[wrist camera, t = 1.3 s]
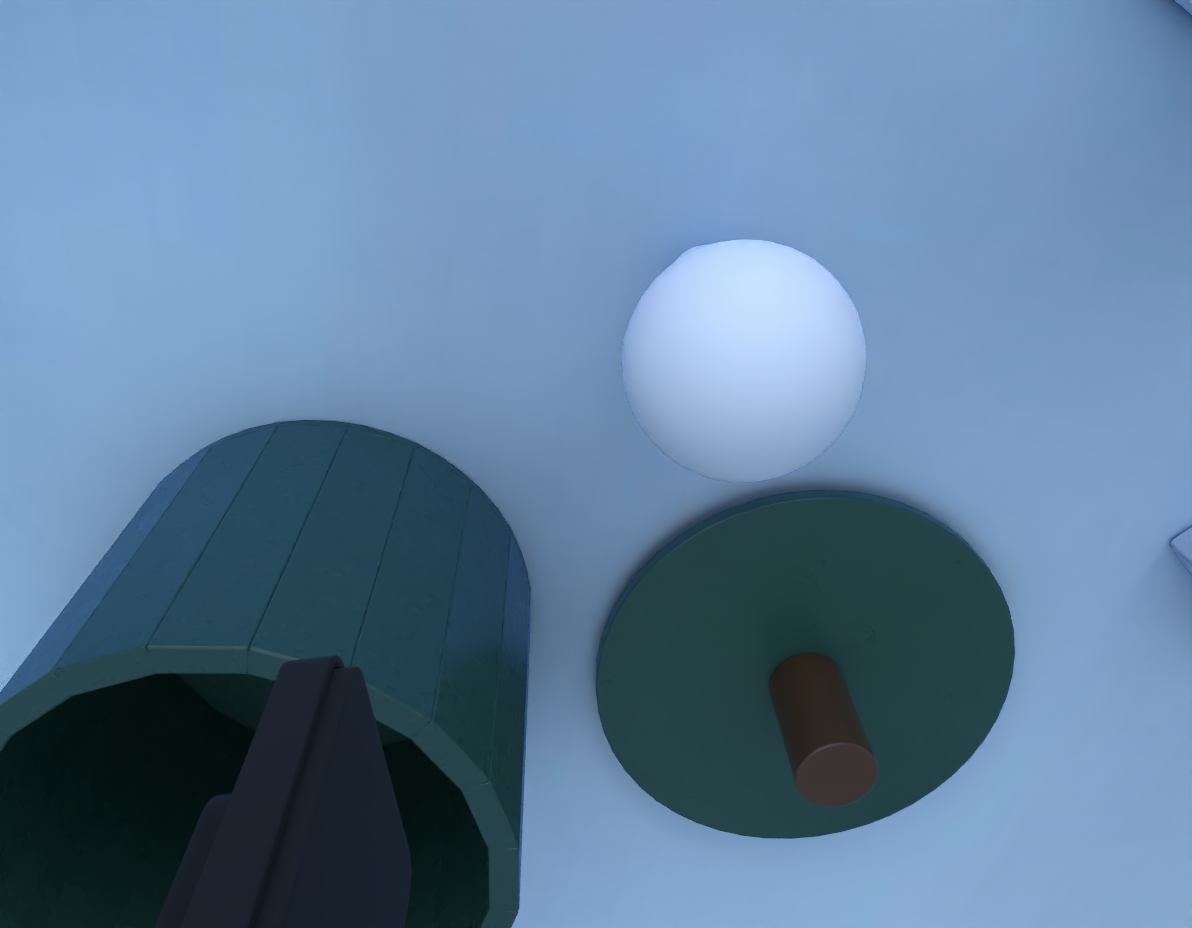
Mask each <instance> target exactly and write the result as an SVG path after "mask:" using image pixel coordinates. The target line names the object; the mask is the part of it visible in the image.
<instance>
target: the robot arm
mask: <svg viewBox="0 0 1192 928" xmlns="http://www.w3.org/2000/svg"><path fill="white" fill-rule="evenodd" d="M1175 1H1176V2H1177V3H1178V4H1180V5H1181V6H1182V7H1183V8H1184V9H1185V10H1187V11H1188V12H1189V13H1190V14H1191V15H1192V0H1175ZM411 875H412V871H411V858H410V852H409V847H408V843H407V839H406V836H405V832H404V828H403V824H402V820H401V817H400V813H399V809H398V805H397V801H396V797H395V794H394V790H393V786H392V782H391V778H390V775H389V771H388V767H387V763H386V759H385V756H384V752H383V748H382V744H381V740H380V737H379V733H378V729H377V725H376V721H375V718H374V714H373V710H372V706H371V702H370V699H369V695H368V691H367V687H366V683H365V680H364V676H363V673H362V671H361V669H360V668H359V667H357V666H356V667H347V668H345V666H344V663H343V661H342V659H341V658H340V657H339V656H337V655H333V656H325V657H316V658H308V659H300V660H291V661H286V662H284V663H283V664H282V666H281V668H280V670H279V672H278V675H277V678H276V680H275V683H274V685H273V688H272V691H271V693H270V696H269V698H268V701H267V704H266V706H265V709H264V711H263V714H262V717H261V719H260V722H259V724H258V727H257V730H256V732H255V735H254V737H253V740H252V743H251V745H250V748H249V750H248V753H247V756H246V758H245V761H244V764H243V766H242V769H241V771H240V774H239V777H238V779H237V782H236V784H235V787H234V790H233V792H232V794H224V795H216V796H214V797H213V798H212V799H210V800H209V801H208V802H207V804H206V806H205V808H204V809H203V811H202V813H201V815H200V818H199V820H198V823H197V825H196V827H195V830H194V832H193V835H192V837H191V840H190V842H189V844H188V847H187V849H186V852H185V854H184V857H183V859H182V861H181V864H180V866H179V869H178V871H177V874H176V876H175V879H174V881H173V883H172V886H171V888H170V891H169V893H168V896H167V898H166V900H165V903H164V905H163V908H162V910H161V913H160V915H159V917H158V920H157V922H156V925H155V927H154V928H405V922H406V916H407V909H408V902H409V896H410V889H411Z"/></svg>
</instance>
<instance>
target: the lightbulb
mask: <svg viewBox="0 0 1192 928" xmlns="http://www.w3.org/2000/svg"><path fill="white" fill-rule="evenodd" d="M621 365H622V372H623V379H624V387H625V393H626V396H627V399H628V402H629V404H630V407H631V410H632V413H633V415H634V417H635V418H636V420H637V421H638V423H639V425H640V426H641V428H642V429H643V431H644V433H645V434H646V435H647V436H648V438H649V439H650V440H651V441H652V442H653V443H654V444H655V445H656V446H657V447H658V448H659V449H660V450H661V451H662V452H663V453H664V454H665V455H666V456H668V457H669V458H671V459H672V460H673V461H675V462H676V463H678V464H679V465H681V466H682V467H684V468H686V469H689V470H691V471H693V472H696V473H698V474H700V475H702V476H705V477H707V478H712V479H716V480H721V481H725V482H743V483H750V482H757V481H764V480H770V479H773V478H777V477H780V476H783V475H786V474H789V473H791V472H793V471H795V470H797V469H799V468H801V467H803V466H805V465H807V464H809V463H810V462H812V461H813V460H814V459H816V458H817V457H818V456H819V455H821V454H822V453H823V452H825V451H826V450H827V449H828V448H829V447H830V446H831V445H832V444H833V443H834V442H835V440H836V439H837V438H838V437H839V436H840V435H841V434H842V432H843V431H844V429H845V428H846V426H847V424H848V423H849V421H850V420H851V418H852V417H853V414H854V412H855V409H856V407H857V404H858V402H859V399H860V397H861V393H862V389H863V384H864V378H865V373H866V344H865V339H864V334H863V330H862V326H861V322H860V318H859V315H858V313H857V311H856V309H855V307H854V305H853V303H852V300H851V298H850V296H849V295H848V294H847V292H846V291H845V290H844V289H843V287H842V286H841V285H840V284H839V282H838V281H837V280H836V279H835V277H834V276H833V275H832V274H831V273H830V272H829V271H828V270H827V269H825V268H824V267H823V266H822V265H820V264H819V263H818V262H817V261H815V260H814V259H813V258H812V257H810V256H808V255H806V254H804V253H802V252H800V251H798V250H796V249H793V248H791V247H788V246H784V245H781V244H777V243H773V242H769V241H762V240H743V239H737V240H730V241H723V242H716V243H713V244H710V245H699V246H696V247H693V248H690V249H689V250H687V251H685V252H684V253H682V254H681V255H680V256H679V257H678V258H677V259H676V260H675V261H674V262H673V263H672V264H671V265H670V266H669V267H667V268H666V269H665V270H664V271H663V272H662V273H660V274H659V275H658V276H657V277H656V278H655V280H654V281H653V282H652V283H651V285H650V286H649V287H648V289H647V290H646V291H645V292H644V294H643V295H642V297H641V298H640V300H639V302H638V304H637V306H636V308H635V310H634V312H633V314H632V316H631V318H630V320H629V323H628V326H627V330H626V333H625V337H624V340H623V350H622V363H621Z"/></svg>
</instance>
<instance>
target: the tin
mask: <svg viewBox="0 0 1192 928" xmlns="http://www.w3.org/2000/svg"><path fill="white" fill-rule="evenodd" d="M530 591H531V587H530V582H529V580H528V573H527V570H526V566H525V563H524V560H523V556H522V553H521V550H520V548H519V546H518V544H517V541H516V539H515V537H514V535H513V533H512V530H511V529H510V527H509V526H508V524H507V523H506V521H505V519H504V518H503V516H502V515H501V513H500V512H499V510H498V509H497V507H496V506H495V505H494V504H493V503H492V502H491V500H490V499H489V498H488V497H487V496H486V495H485V493H484V492H483V491H482V490H481V489H480V488H479V487H478V486H477V485H476V484H475V483H473V482H472V481H471V480H470V479H469V478H468V477H467V476H466V475H465V474H464V473H462V472H461V471H460V470H458V469H457V468H456V467H454V466H453V465H451V464H450V463H449V462H447V461H446V460H444V459H443V458H441V457H440V456H438V455H436V454H435V453H433V452H431V451H429V450H427V449H425V448H423V447H422V446H420V445H418V444H416V443H414V442H411V441H409V440H406V439H404V438H401V437H399V436H396V435H394V434H391V433H388V432H385V431H381V430H377V429H374V428H370V427H366V426H362V425H356V424H350V423H343V422H336V421H314V420H301V421H290V422H279V423H273V424H268V425H264V426H259V427H255V428H250V429H247V430H244V431H241V432H239V433H236V434H233V435H230V436H227V437H225V438H223V439H221V440H219V441H217V442H215V443H213V444H211V445H209V446H207V447H205V448H203V449H201V450H200V451H198V452H197V453H196V454H194V455H193V456H192V457H190V458H189V459H187V460H186V461H185V462H183V463H182V464H180V465H179V466H178V467H177V468H176V469H175V470H174V471H173V472H172V473H171V474H169V475H168V476H167V477H165V478H164V479H163V480H162V481H161V482H160V483H159V485H158V486H157V487H156V489H155V490H154V491H153V492H152V494H151V495H150V496H149V498H148V499H147V500H146V502H145V503H144V504H143V506H142V507H141V508H140V510H139V511H138V512H137V514H136V515H135V516H134V517H133V519H132V520H131V521H130V523H129V524H128V525H127V527H126V528H125V529H124V531H123V532H122V533H121V535H120V536H119V537H118V538H117V540H116V541H115V542H114V544H113V545H112V546H111V548H110V549H109V550H108V552H107V553H106V554H105V556H104V557H103V558H102V560H101V561H100V562H99V563H98V565H97V566H96V567H95V569H94V570H93V571H92V573H91V574H90V575H89V577H88V578H87V579H86V581H85V582H84V583H83V584H82V586H81V587H80V588H79V590H78V591H77V592H76V594H75V595H74V596H73V598H72V599H71V600H70V602H69V603H68V604H67V606H66V607H65V608H64V609H63V611H62V612H61V613H60V615H59V616H58V617H57V619H56V620H55V621H54V623H53V624H52V625H51V627H50V628H49V629H48V630H47V632H46V633H45V634H44V636H43V637H42V638H41V640H40V641H39V642H38V644H37V645H36V646H35V648H34V649H33V650H32V652H31V653H30V654H29V655H28V657H27V658H26V659H25V661H24V662H23V663H22V665H21V666H20V667H19V669H18V670H17V671H16V673H15V674H14V675H13V676H12V678H11V679H10V680H9V682H8V683H7V684H6V686H5V687H4V688H3V690H2V691H1V692H0V928H154V927H155V925H156V922H157V920H158V917H159V915H160V913H161V910H162V908H163V905H164V903H165V900H166V898H167V896H168V893H169V891H170V888H171V886H172V883H173V881H174V879H175V876H176V874H177V871H178V869H179V866H180V864H181V861H182V859H183V857H184V854H185V852H186V849H187V847H188V844H189V842H190V840H191V837H192V835H193V832H194V830H195V827H196V825H197V823H198V820H199V818H200V815H201V813H202V811H203V809H204V808H205V806H206V804H207V802H208V801H209V800H210V799H212V798H213V797H214V796H216V795H224V794H232V792H233V790H234V787H235V784H236V782H237V779H238V777H239V774H240V771H241V769H242V766H243V764H244V761H245V758H246V756H247V753H248V750H249V748H250V745H251V743H252V740H253V737H254V735H255V732H256V730H257V727H258V724H259V722H260V719H261V717H262V714H263V711H264V709H265V706H266V704H267V701H268V698H269V696H270V693H271V691H272V688H273V685H274V683H275V680H276V678H277V675H278V672H279V670H280V668H281V666H282V664H283V663H284V662H286V661H291V660H300V659H308V658H316V657H325V656H333V655H337V656H339V657H340V658H341V659H342V661H343V663H344V666H345V668H347V667H356V666H357V667H359V668H360V669H361V671H362V673H363V676H364V680H365V683H366V687H367V691H368V695H369V699H370V702H371V706H372V710H373V714H374V718H375V721H376V725H377V729H378V733H379V737H380V740H381V744H382V748H383V752H384V756H385V759H386V763H387V767H388V771H389V775H390V778H391V782H392V786H393V790H394V794H395V797H396V801H397V805H398V809H399V813H400V817H401V820H402V824H403V828H404V832H405V836H406V839H407V843H408V847H409V852H410V858H411V871H412V875H411V889H410V896H409V902H408V909H407V916H406V922H405V928H511V927H512V925H513V922H514V920H515V918H516V916H517V914H518V910H519V901H520V876H521V851H522V826H523V801H524V777H525V752H526V727H527V702H528V677H529V652H530Z"/></svg>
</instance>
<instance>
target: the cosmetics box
mask: <svg viewBox="0 0 1192 928" xmlns="http://www.w3.org/2000/svg"><path fill="white" fill-rule="evenodd" d="M1170 546H1171V548H1172V549H1173V550H1174V552H1175V553H1176V555H1177V556H1178V557H1179V559H1180V560H1181V562H1182V563H1183V564H1184V565H1185V566H1186V568H1187V569H1188V570H1189V571H1190V573H1191V574H1192V527H1191V528H1189V529H1188V530H1186V531H1185V532H1183V533H1182V534H1180V535H1178V536H1177V537H1176V538H1174V539H1173V540H1172V541H1171V542H1170Z"/></svg>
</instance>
